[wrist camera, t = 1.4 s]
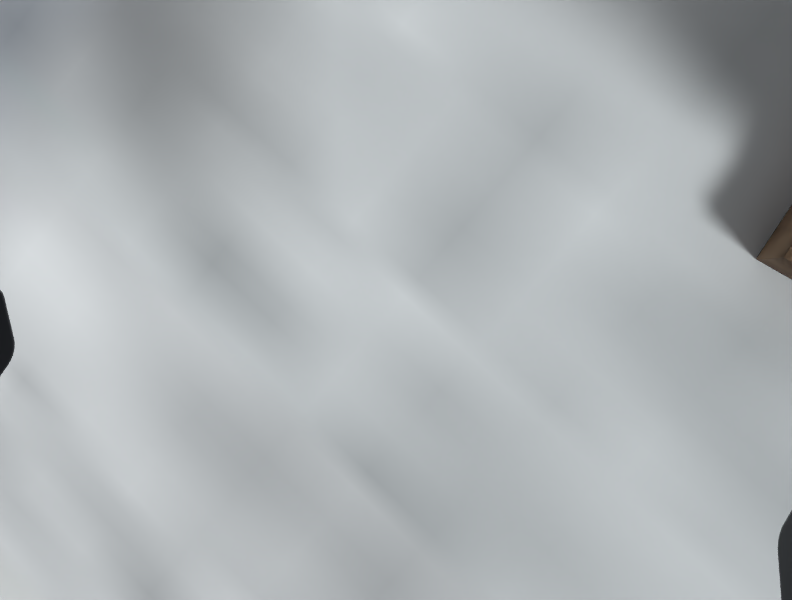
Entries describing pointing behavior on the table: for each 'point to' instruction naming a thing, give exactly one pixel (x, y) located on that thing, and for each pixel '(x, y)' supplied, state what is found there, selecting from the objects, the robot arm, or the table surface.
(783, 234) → the walnut rack
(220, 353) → the table surface
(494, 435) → the table surface
